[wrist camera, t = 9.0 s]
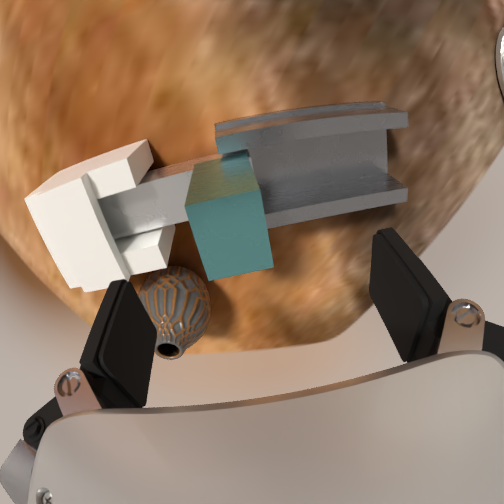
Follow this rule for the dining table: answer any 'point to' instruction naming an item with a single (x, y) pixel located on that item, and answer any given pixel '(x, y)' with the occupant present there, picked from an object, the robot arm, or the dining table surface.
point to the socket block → (97, 220)
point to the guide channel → (318, 158)
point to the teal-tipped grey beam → (201, 211)
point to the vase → (176, 309)
